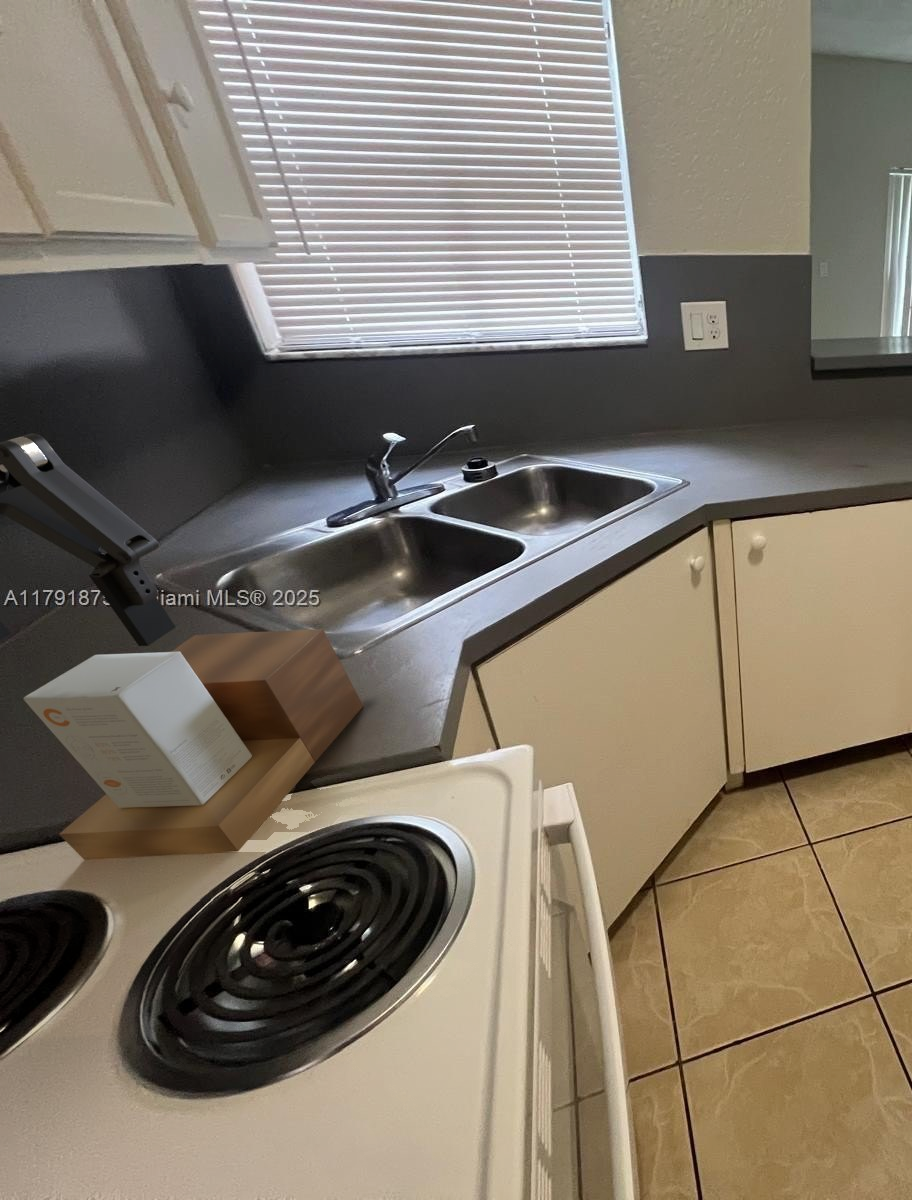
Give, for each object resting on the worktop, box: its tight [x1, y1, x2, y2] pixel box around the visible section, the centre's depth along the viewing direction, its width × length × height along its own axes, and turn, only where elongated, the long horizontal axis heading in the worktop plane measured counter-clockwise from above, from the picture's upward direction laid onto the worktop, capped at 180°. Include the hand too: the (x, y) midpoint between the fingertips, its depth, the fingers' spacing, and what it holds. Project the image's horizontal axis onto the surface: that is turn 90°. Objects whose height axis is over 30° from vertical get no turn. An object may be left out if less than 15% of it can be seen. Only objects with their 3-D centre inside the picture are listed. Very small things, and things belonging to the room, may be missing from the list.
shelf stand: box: [58, 628, 364, 860], centre depth 62 cm, size 14×20×11 cm
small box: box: [23, 651, 252, 808], centre depth 56 cm, size 8×6×13 cm
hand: (74, 640), depth 51 cm, fingers open, 13 cm apart
